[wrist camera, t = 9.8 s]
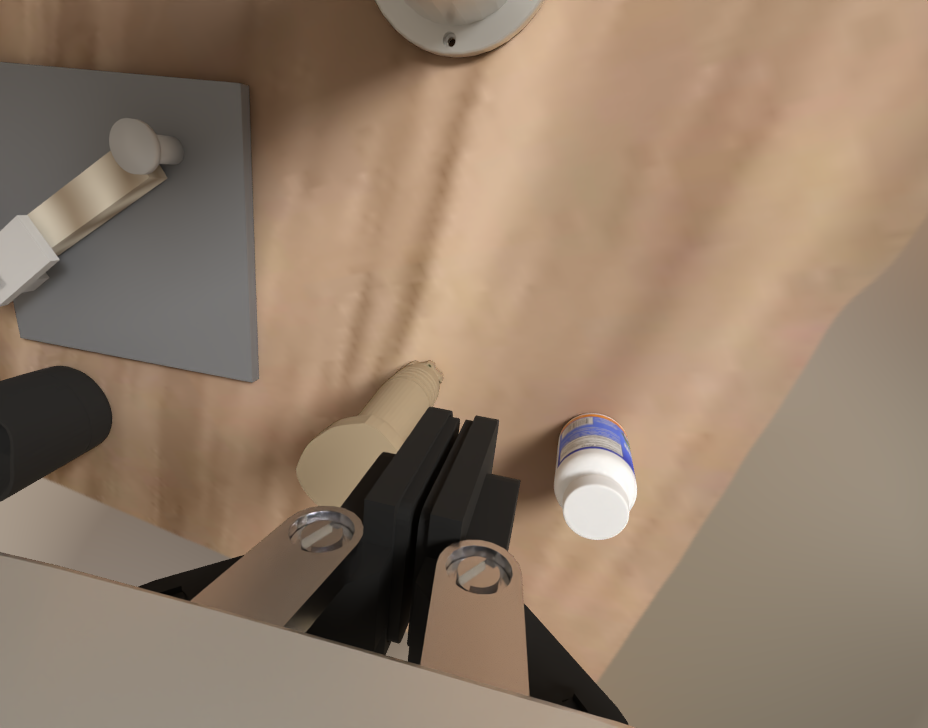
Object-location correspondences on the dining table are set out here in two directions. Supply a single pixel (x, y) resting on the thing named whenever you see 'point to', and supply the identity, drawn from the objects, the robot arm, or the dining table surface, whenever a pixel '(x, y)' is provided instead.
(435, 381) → the handle
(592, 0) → the dining table surface
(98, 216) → the link
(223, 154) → the board
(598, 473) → the pill bottle
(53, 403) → the pen holder
